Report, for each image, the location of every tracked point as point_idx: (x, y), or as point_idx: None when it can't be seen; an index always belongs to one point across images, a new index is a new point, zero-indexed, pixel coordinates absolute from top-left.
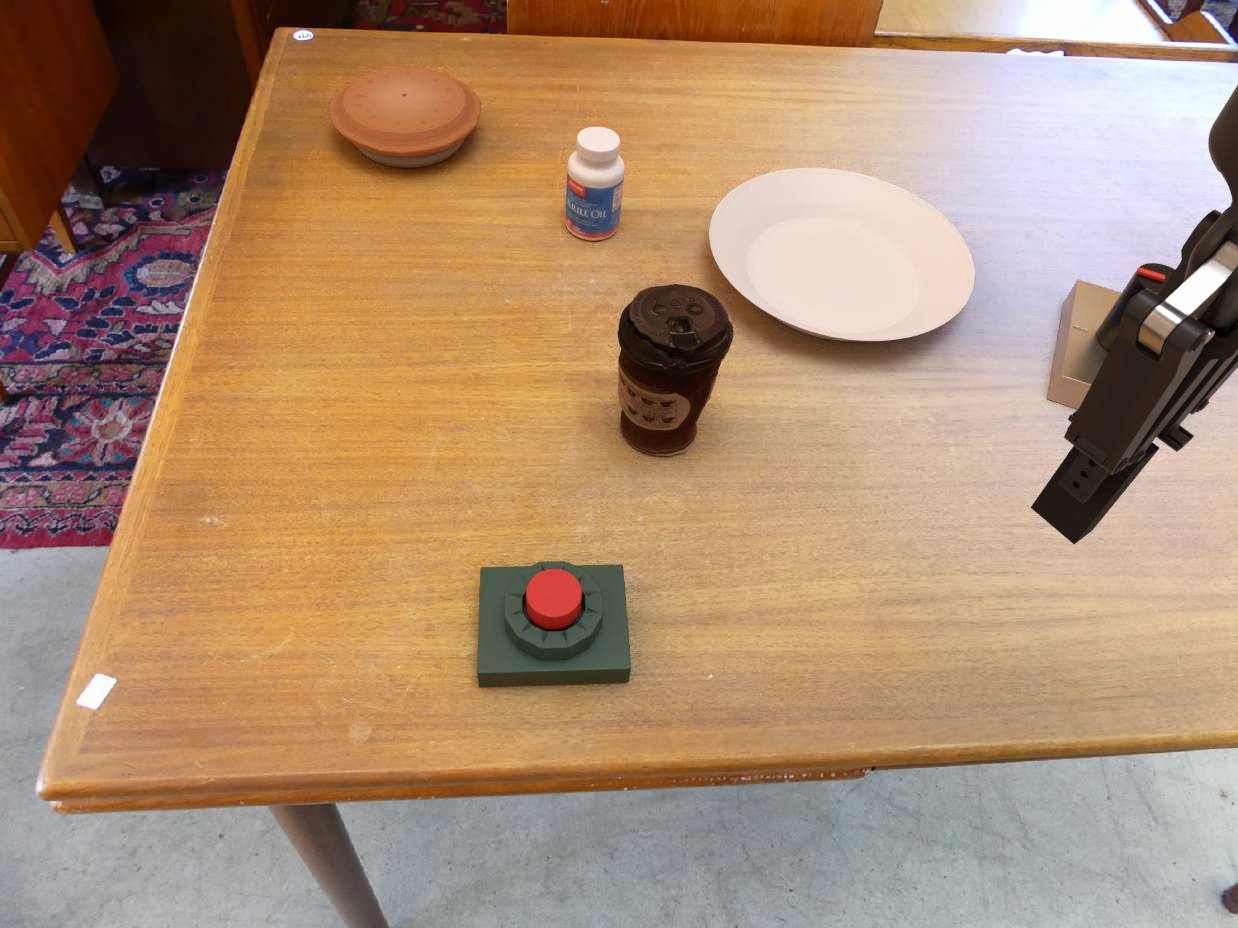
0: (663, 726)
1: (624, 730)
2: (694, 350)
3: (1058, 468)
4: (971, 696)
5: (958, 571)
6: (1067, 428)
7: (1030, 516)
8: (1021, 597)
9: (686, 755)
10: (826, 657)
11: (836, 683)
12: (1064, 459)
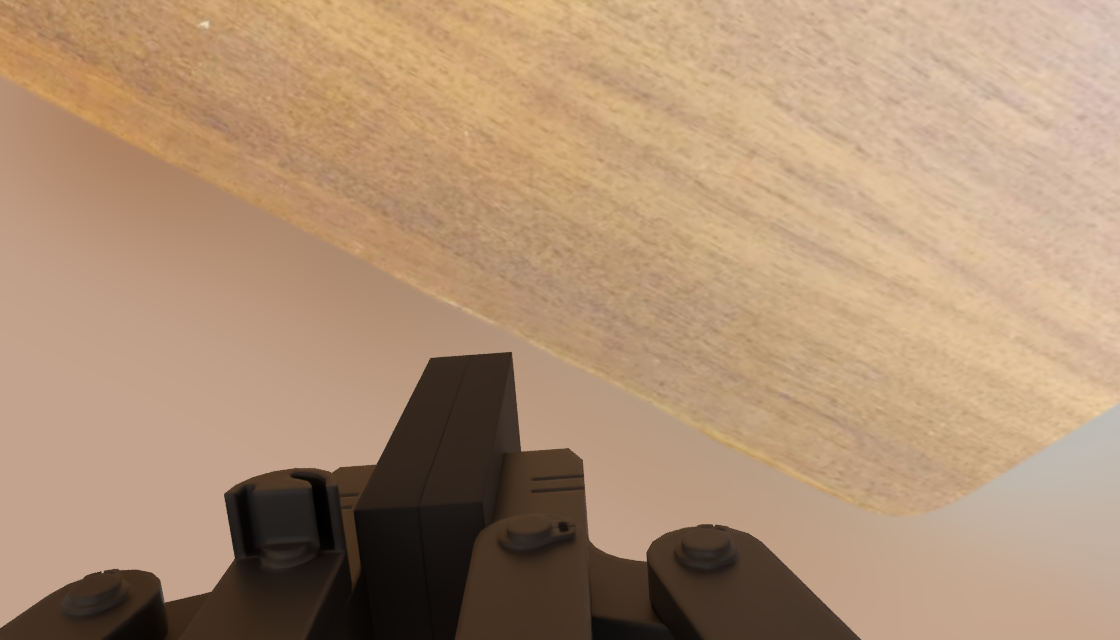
0: (85, 61)
1: (20, 33)
2: None
3: (402, 417)
4: (593, 285)
5: (761, 88)
6: (75, 583)
7: (994, 64)
8: (822, 192)
9: (98, 124)
10: (415, 102)
11: (401, 150)
12: (396, 431)
